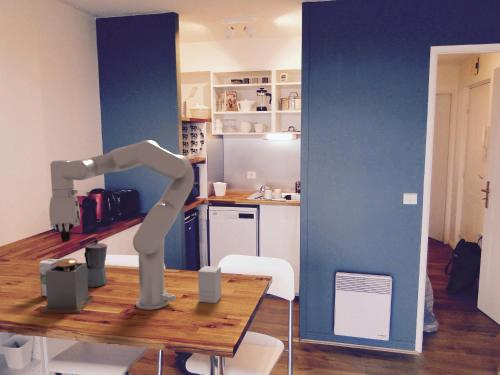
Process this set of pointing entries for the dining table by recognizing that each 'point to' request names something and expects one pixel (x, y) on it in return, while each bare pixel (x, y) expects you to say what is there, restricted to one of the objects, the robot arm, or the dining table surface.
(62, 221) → the robot arm
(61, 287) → the grey square canister
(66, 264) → the plunger
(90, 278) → the moka pot
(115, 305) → the dining table surface
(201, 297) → the supplement box
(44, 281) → the syrup box
